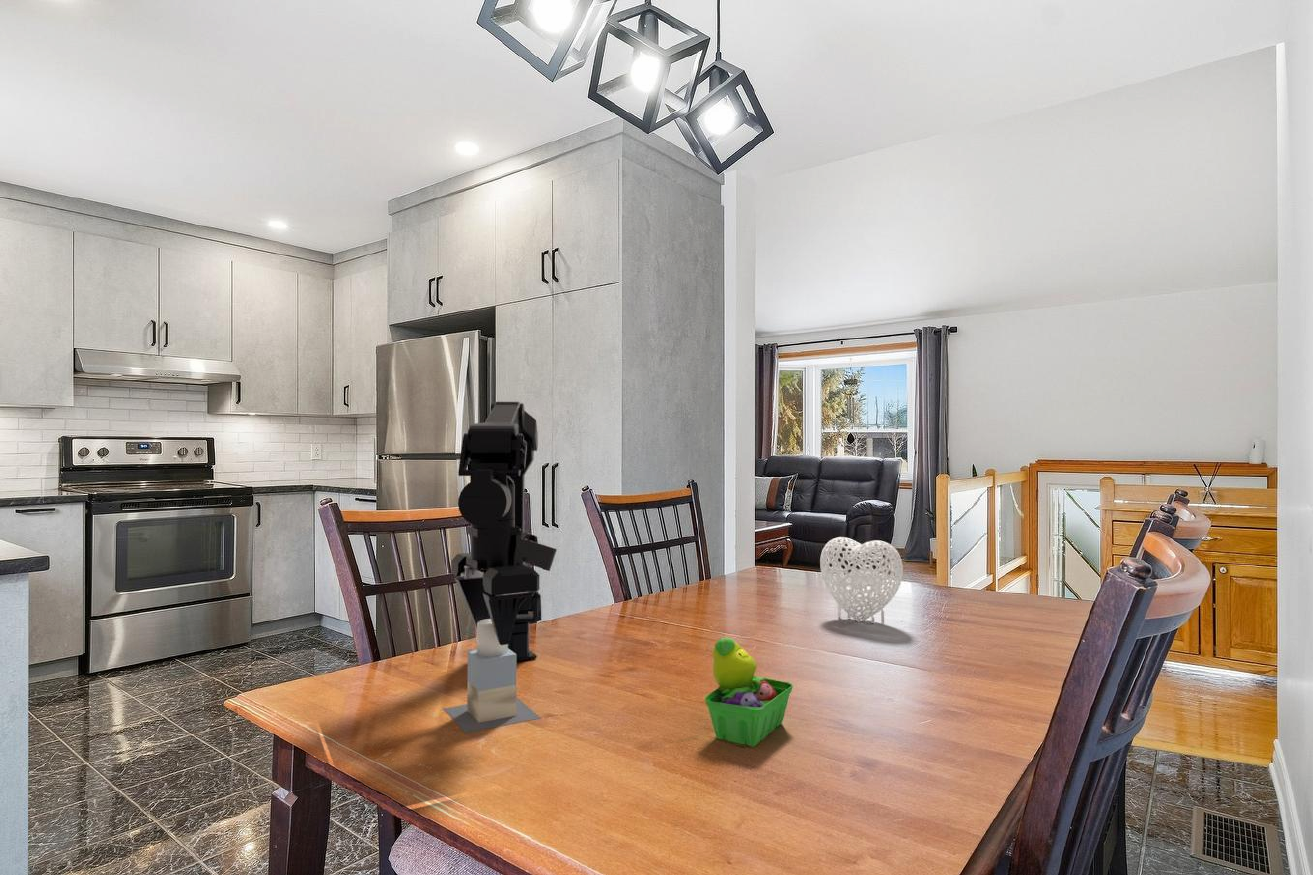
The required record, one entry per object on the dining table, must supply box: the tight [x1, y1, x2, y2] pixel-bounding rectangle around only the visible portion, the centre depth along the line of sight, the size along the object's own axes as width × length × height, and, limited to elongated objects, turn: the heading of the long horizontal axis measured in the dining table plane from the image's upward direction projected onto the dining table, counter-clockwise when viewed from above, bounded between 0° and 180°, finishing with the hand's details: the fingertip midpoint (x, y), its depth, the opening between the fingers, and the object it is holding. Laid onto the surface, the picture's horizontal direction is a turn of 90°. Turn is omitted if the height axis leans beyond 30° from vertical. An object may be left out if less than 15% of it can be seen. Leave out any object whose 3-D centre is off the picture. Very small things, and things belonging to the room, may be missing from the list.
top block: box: [467, 648, 518, 691], centre depth 96 cm, size 5×5×4 cm
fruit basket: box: [704, 637, 794, 747], centre depth 92 cm, size 11×9×11 cm
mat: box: [443, 696, 542, 735], centre depth 96 cm, size 10×10×1 cm
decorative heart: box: [819, 536, 904, 625], centre depth 150 cm, size 18×11×17 cm, turn 44°
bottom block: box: [466, 681, 517, 723], centre depth 96 cm, size 5×5×4 cm
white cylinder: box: [476, 619, 508, 657], centre depth 96 cm, size 4×4×4 cm
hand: (492, 636), depth 96 cm, fingers open, 9 cm apart
